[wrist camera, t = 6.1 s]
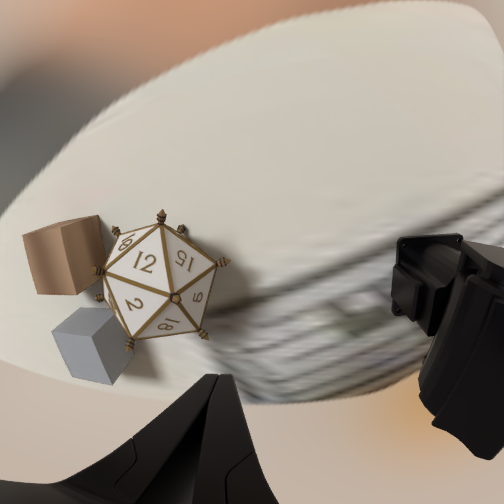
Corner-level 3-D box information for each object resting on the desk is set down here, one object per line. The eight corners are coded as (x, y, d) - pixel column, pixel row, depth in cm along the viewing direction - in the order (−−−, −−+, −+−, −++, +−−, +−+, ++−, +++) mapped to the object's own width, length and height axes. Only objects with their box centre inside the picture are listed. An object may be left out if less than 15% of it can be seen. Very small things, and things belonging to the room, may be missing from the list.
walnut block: (98, 214, 20) (60, 227, 16) (110, 271, 22) (76, 295, 17) (59, 222, 21) (22, 235, 16) (70, 273, 22) (37, 294, 18)
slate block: (119, 308, 23) (91, 336, 18) (134, 353, 24) (112, 385, 19) (80, 307, 23) (51, 331, 19) (96, 349, 25) (72, 376, 20)
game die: (194, 270, 25) (156, 374, 19) (117, 215, 21) (57, 322, 15) (267, 236, 19) (229, 384, 13) (168, 153, 15) (74, 306, 9)
